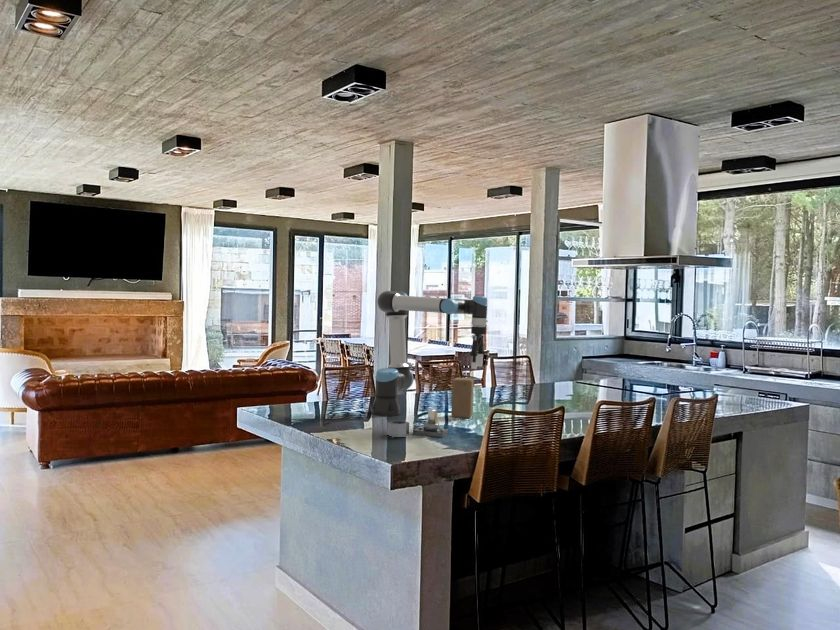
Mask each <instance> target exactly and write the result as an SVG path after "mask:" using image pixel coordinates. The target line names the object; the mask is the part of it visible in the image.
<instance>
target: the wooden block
mask: <svg viewBox="0 0 840 630" xmlns="http://www.w3.org/2000/svg"><path fill="white" fill-rule="evenodd" d="M474 382H475V380H474V378H472V377H471V378H470V377H455V378H453V380H452V392H451V417H452V418H458V419H459V418H460V419H461V418H462V419H470V418H471V417H472V416H473V411H474V409H473V408H474V406H473V405H474V384H475V383H474Z"/></svg>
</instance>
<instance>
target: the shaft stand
mask: <svg viewBox="0 0 840 630" xmlns="http://www.w3.org/2000/svg"><path fill="white" fill-rule="evenodd" d="M438 413H439V411H438V409H437V410H436V409H433V408H432V409H428V410H427V421H425V422H423V426H418V427H416V428H415V429H413V430H412V435H413V436H422V437H423V436H424V437H433V438H441V439H442V438H445V437H446V436H448V435H449V434H450V429H448V428H447V429H446V428H440V423H439V422H438Z"/></svg>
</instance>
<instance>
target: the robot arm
mask: <svg viewBox="0 0 840 630" xmlns="http://www.w3.org/2000/svg"><path fill="white" fill-rule="evenodd" d="M376 302H377V303H376V304H377V306H378V308H379V310H380V311H382V312H384V313H385V317H386V318H387V319H388V325H389V327H388V329H389V347H390V349H389V351H390V364H389V365H388V366H387V368H380V369H378V370H377V371H376V374H375V375H376V376H375V395H374V401H373V404H372V405H371V409H370V410H371V411H370V413H371V415H375V416H381V417H382V416H383V417H392V416H393V417H394V416H399V415H401V408H400V404H399V401H398V392H405V391H407V390H409V389H410V388H411V387H412V385H413V383H414V379H415V378H414V375H413V372H412V371H411V370H410V369H411V368H410V365H409V364H408V362H407V347H406V346H407V343H406V342H407V341H406V318H407V317H408V311H410V312H422V313H424V312H426V313H434V314H435V313H436V314H437V313H439V314H447V315H457V314H458V315H471V331H470V333H471V334H473V336H472V337H473V338H472V346H471V352H470V356H471V365H470V366H471V367H470V369H471V370H477V369H478V367H479V368H482V367H483V364H484V361H483V358H484V355H485V347H484V335H486V333H487V327H486V326H487V323H488V320H487V319H488V318H487V317H488V316H487V315H488V297H487V296H479V295H474V296H473V297H472V299H464V298H443V297H442V298H441V297H430V296H429V297H428V296H412V295H408V294H407V293H406V292H403V291H399V290H385V291H383V292H381V293H380V294H379V295H378V298H377V301H376Z"/></svg>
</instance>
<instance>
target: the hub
mask: <svg viewBox="0 0 840 630" xmlns="http://www.w3.org/2000/svg"><path fill="white" fill-rule="evenodd" d="M386 424H387V426H386V427H387V429H386V436H387V435H389V436H392V437H391V438H394V437H406V438H408V437H410V422H409V421H406V420H399V419H398V420H389V421H387V423H386ZM389 436H388V437H389ZM407 436H408V437H407Z"/></svg>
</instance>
